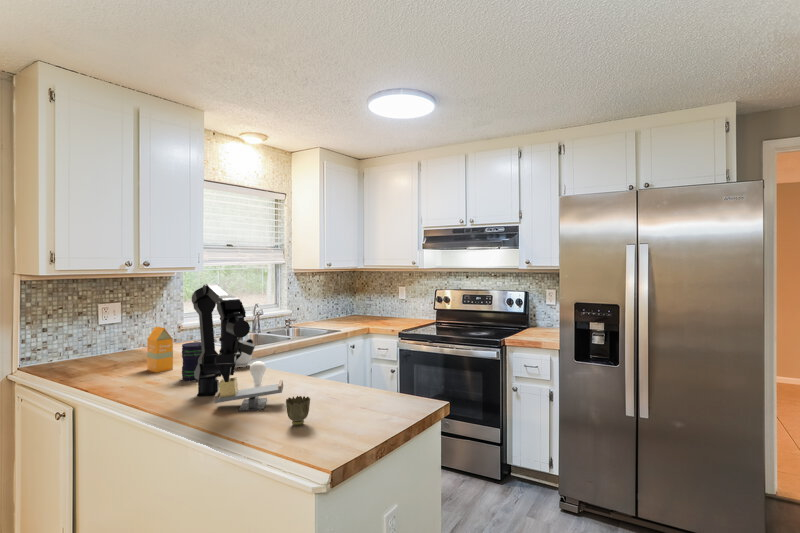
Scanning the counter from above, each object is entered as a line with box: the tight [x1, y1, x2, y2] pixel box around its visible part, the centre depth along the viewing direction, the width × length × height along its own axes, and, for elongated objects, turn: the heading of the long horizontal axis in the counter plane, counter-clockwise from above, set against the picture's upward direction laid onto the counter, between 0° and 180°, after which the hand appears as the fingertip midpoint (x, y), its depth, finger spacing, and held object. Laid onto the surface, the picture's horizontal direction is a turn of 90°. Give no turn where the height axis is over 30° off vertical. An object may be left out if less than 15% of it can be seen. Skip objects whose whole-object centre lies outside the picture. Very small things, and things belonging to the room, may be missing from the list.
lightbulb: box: [249, 360, 267, 388], centre depth 176 cm, size 6×6×11 cm
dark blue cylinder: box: [181, 341, 202, 382], centre depth 192 cm, size 10×10×15 cm
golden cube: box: [219, 377, 239, 398], centre depth 154 cm, size 5×5×5 cm
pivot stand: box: [238, 396, 268, 413], centre depth 155 cm, size 8×12×4 cm, turn 11°
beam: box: [213, 379, 284, 404], centre depth 155 cm, size 22×8×2 cm, turn 101°
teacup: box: [235, 352, 253, 368], centre depth 214 cm, size 12×15×10 cm
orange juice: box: [146, 326, 174, 373], centre depth 207 cm, size 8×9×20 cm
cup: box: [285, 395, 311, 427], centre depth 137 cm, size 8×7×8 cm
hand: (229, 378), depth 154 cm, fingers open, 9 cm apart
